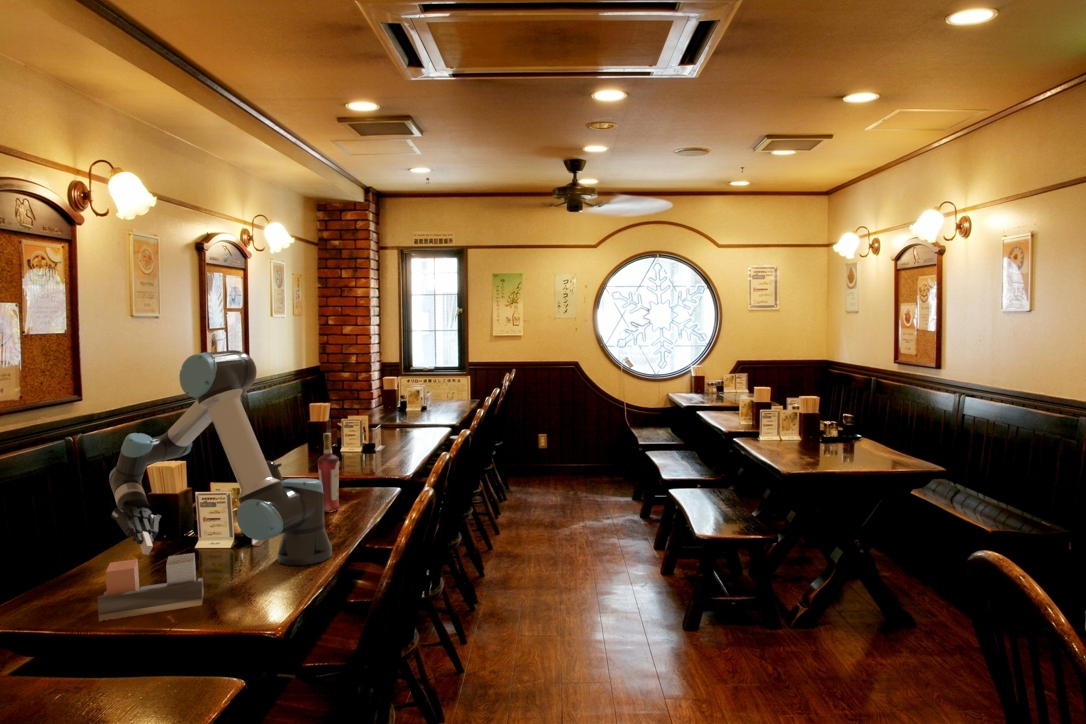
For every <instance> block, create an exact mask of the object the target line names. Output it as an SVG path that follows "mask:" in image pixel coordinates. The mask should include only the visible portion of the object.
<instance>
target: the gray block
mask: <svg viewBox="0 0 1086 724" xmlns="http://www.w3.org/2000/svg"><path fill="white" fill-rule="evenodd" d="M195 555H196V554H195V552H192V553H183V554H177V555H169V556H168V557H167V560H166V565H165V568H166V583H167V586H172V585H179V584H185V583H192V582H197V574H196V573H197V571H196V569H197V568H196V556H195Z"/></svg>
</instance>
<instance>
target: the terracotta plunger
mask: <svg viewBox="0 0 1086 724" xmlns="http://www.w3.org/2000/svg"><path fill="white" fill-rule="evenodd" d="M105 583H106V592H107V595H111V594H118V593H125V592H131V591H138V590H140V577H139V563H138V558H136V559H127V560H121V561H113V562H109V563H108V566H107V568H106V571H105Z"/></svg>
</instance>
